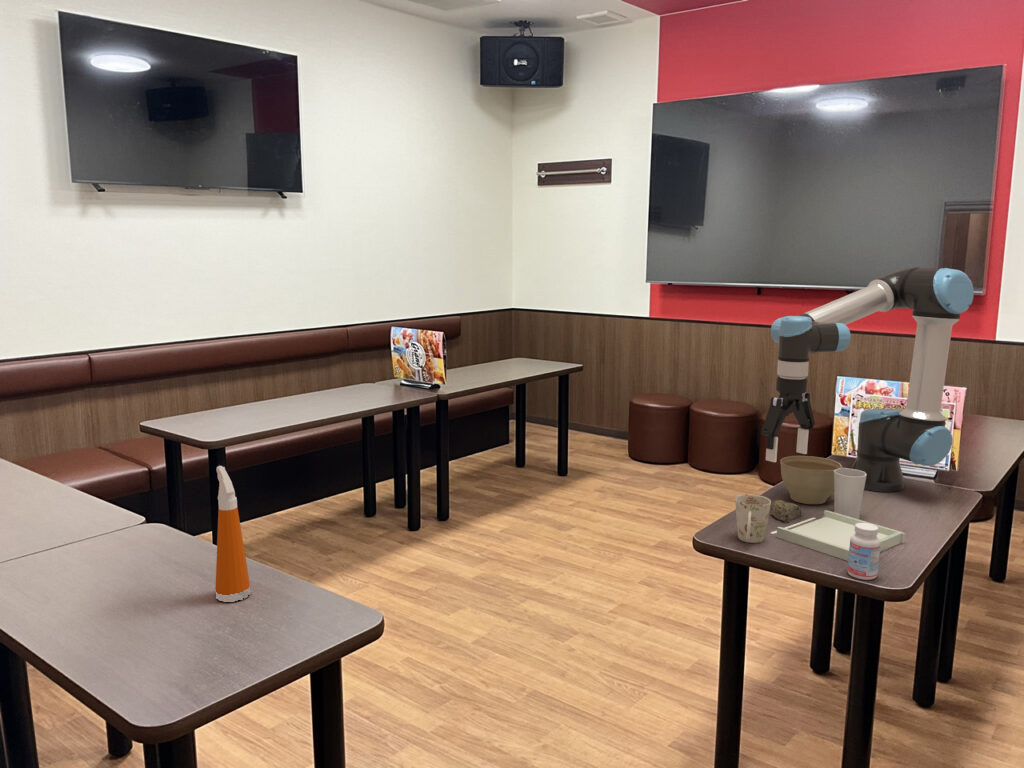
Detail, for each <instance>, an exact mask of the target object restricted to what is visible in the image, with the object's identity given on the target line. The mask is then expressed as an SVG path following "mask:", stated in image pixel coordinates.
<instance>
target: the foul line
mask: <svg viewBox="0 0 1024 768" xmlns="http://www.w3.org/2000/svg"><path fill="white" fill-rule="evenodd" d="M815 520H817V518H816V517H814V516H813V517H811V518H807V519H804V520H802V521H799V522H797V523H793V524H790V525H789V526H786V527H784V528H785V529H788V530H790V529H793V528H796V527H799V526H801V525H804V524H807V523H810V522H813V521H815ZM769 534H770V535H775V534H776V535H777V530H774V531H771V532H770V533H769Z"/></svg>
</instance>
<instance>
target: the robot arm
mask: <svg viewBox="0 0 1024 768" xmlns="http://www.w3.org/2000/svg"><path fill="white" fill-rule="evenodd" d="M974 291H975V290H974V285H973V282H972V280H971V279H970V278H969V276H968V275H967V273H965V272H963V271H961V270H959V269H953V268H948V267H944V268H942V267H941V268H938V267H936V268H935V267H916V266H915V267H907V268H904V269H900V270H896V271H893V272H891V273H889V274H885V275H883V276H880V277H879V278H876V279H873V280H871V281H870V282H869V283H868V285H867V286H866V287H864V288H861V289H859V290H857V291H853V292H852V293H849V294H847V295H844V296H841V297H840V298H838V299H837V298H836V299H835V300H832V301H830V302H828V303H826V304H823V305H821V306H818V307H816V308H813V309H811V310H808V311H805V312H804V313H801V314H799V315H787V316H783V317H779V318H777V319H775V320H774V321H773V323H772V324H771V327H770V336H771V338H772V340H773V342H775V343H776V344H778V349H777V351H778V353H777V355H778V356H777V370H776V375H778V376H777V377H776V381H775V382H776V383H775V385H776V386H775V390H776V391H777V392H778V394H779V395H778V397H775V396H772V397H771V398H770V403H769V408H768V411H767V414H766V416H765V420H764V423H763V425H762V428H761V431H760V434H761V435H763V436H765V437H766V441H765V443H766V444H765V445H766V446H765V448H766V451H765V461H767V462H771V463H777V459H778V458H777V457H778V443H779V437H778V436H777V435H778V433H779V431H780V429H781V427H782V425H783V424H784V421H785V419H786V418H787V417H788V416H789V415H790V414H793V415H794V417H795V419H796V422H797V423H798V425H799V428H797V437H796V451H795V452H796V453H799V454H802V455H807V454H808V442H809V434H810V430H813V429H814V426H815V425H816V423H815V416H814V413H813V409H812V405H811V394H810V393H809V392H807V390H808V379H807V377H809V364H810V363H809V362H810V354H815V353H816V354H817V353H832V354H833V353H836V352H843V351H845V350H846V349H847V348H848V347H849V345H850V343H851V330H850V329H849V327H848V326H847V325H849V324H851V323H853V322H855V321H859V320H861V319H862V318H865V317H867V316H870V315H873V314H874V313H876V312H881V313H886V312H888V311H891V310H894V309H895V310H896V309H911V310H912V315H911V317H912V318H913V319H914V320H915V322H916V332H915V336H914V337H915V338H914V345H913V353H912V361H911V368H910V376H909V383H908V392H907V398H906V406H905V408H904V409H899V408H870V409H869V408H867V409H865V410H863V411H861V413H860V416H859V417H860V418H859V422H858V435H857V452H856V458H855V461H854V463H853V465H852V467H851V469H856V470H860V471H863V472H865V473H866V474H867V475H866V481H865V486H864V490H867V491H872V492H882V493H883V492H885V493H891V492H900V491H903V489H904V487H905V478H904V475H903V474H904V473H903V470H902V466H901V463H900V459H901V460H905V461H907V462H911V463H912V464H916V465H920V466H921V465H922V466H927V467H931V466H935V465H938V464H939V463H941V462H942V461H943V460H944V459H946V457H948V456H947V455H949V453H950V451H951V449H952V446H953V440H954V438H953V435H952V432H951V431H950V429H949V428H947V427H946V426H945V425H946V417H945V416H944V415H943V414H942V412H941V408H942V404H943V403H942V401H943V394H944V389H945V388H944V387H945V386H944V385H945V379H946V373H947V366H948V360H949V351H950V344H951V338H952V331H953V326H954V325H955V324H956V323H958V322H959V321H960V317H961V314H963V313H965V312H966V311H967V310H968V309H969V308H970V306H971V305H972V303H973V301H974V295H975V294H974V293H975V292H974Z"/></svg>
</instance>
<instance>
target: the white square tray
mask: <svg viewBox="0 0 1024 768" xmlns="http://www.w3.org/2000/svg"><path fill="white" fill-rule="evenodd" d="M857 523H869V524H873V525H875V526H877V527H878V535H877V537H878V538H879V539H880V553H882V552H884V551H886V550H889V549H890V548H893V547H896V546H897V545H900V544H905V542H906V532H903V531H900V530H896V529H892V528H890V527H887V526H883V525H879V524H877V523H876V524H875V523H872V522H868V521H866V520H862V519H860V518H859V519H855V518H852V517H849V516H845V515H842V514H838V513H835V512H834V511H830V510H829V509H828V510H823V517H821V518H819V519H815V520H812V521H809V522H806V523H803V524H801V525H798V526H795V527H792V528H790V529H785V527H781V526H777V527H776V531H777V533H776V538H778V539H781V540H783V541H787V542H790V543H793V544H796V545H800V546H802V547H804V548H808V549H811V550H814V551H816V552H820V553H822V554H825V555H829V556H832V557H834V558H838V559H841V560H844V561H847V562H848V559H849V547H850V538H851V536H852V535H853V534H855V533H856V532H855V530H854V529H855V524H857Z"/></svg>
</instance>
